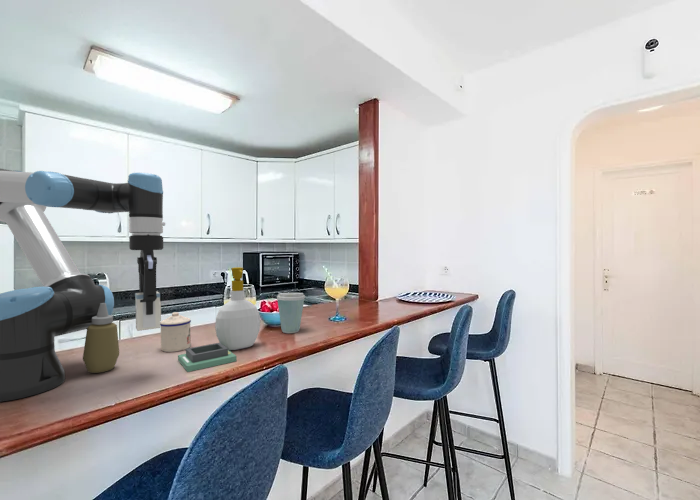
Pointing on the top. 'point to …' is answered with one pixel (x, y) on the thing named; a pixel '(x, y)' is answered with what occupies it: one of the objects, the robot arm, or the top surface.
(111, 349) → the squeeze bottle
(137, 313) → the plug
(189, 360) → the header board
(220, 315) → the white round bottle
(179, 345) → the teacup with lid
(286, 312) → the disposable coffee cup
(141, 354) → the top surface
